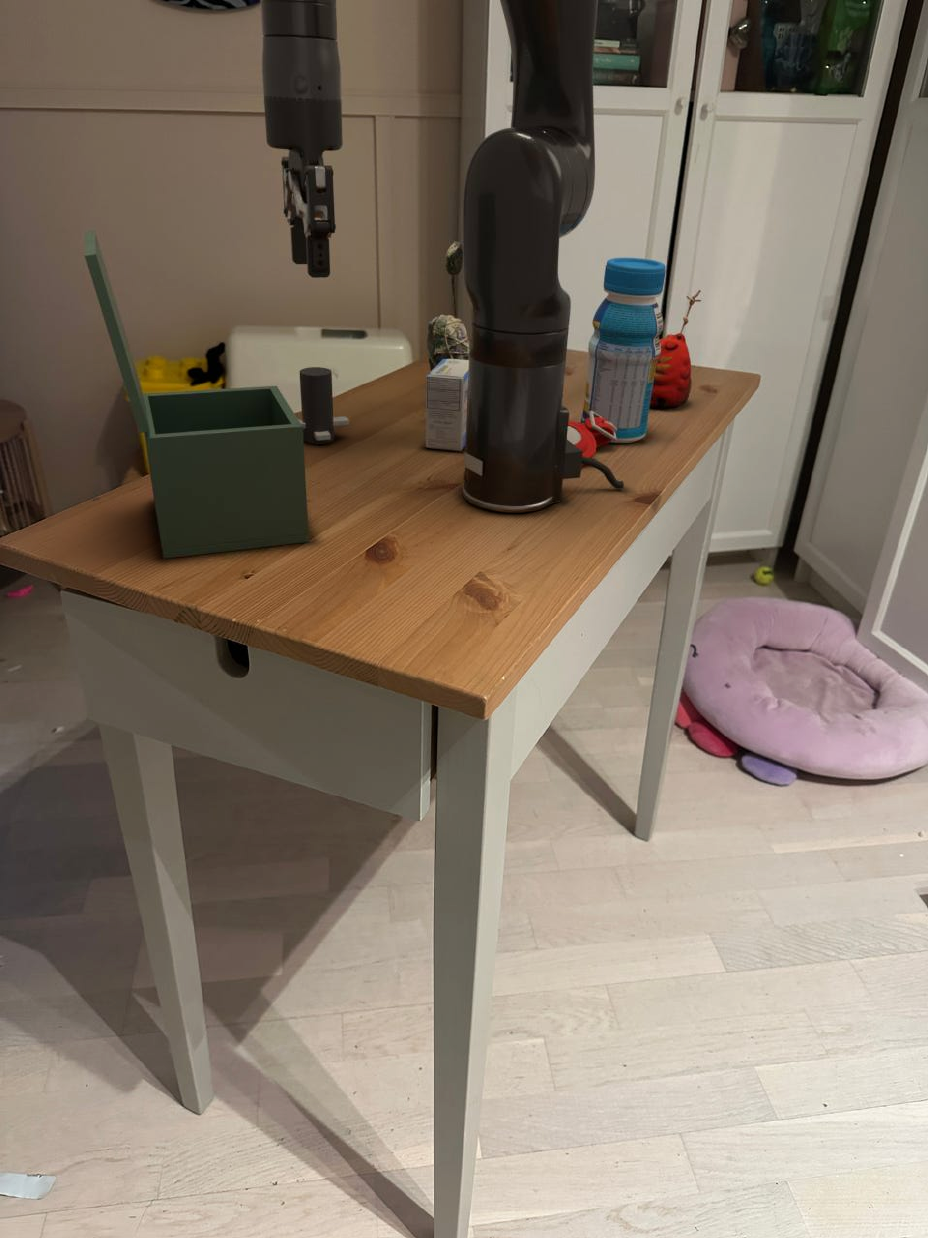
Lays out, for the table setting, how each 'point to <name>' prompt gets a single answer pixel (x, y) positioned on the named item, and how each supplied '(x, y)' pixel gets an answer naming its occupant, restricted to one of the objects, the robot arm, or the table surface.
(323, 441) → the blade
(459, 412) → the medicine box
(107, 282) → the lid
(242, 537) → the chest
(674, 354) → the red clay folk toy
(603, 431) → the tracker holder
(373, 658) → the table surface
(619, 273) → the beverage bottle
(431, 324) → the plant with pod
